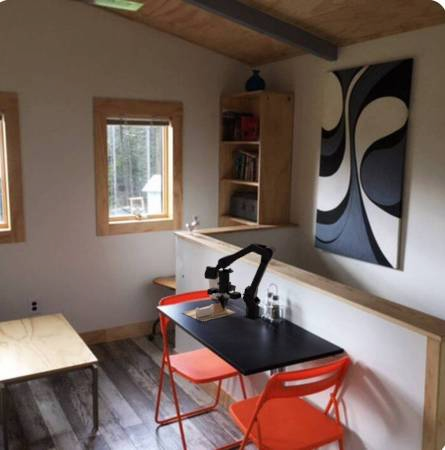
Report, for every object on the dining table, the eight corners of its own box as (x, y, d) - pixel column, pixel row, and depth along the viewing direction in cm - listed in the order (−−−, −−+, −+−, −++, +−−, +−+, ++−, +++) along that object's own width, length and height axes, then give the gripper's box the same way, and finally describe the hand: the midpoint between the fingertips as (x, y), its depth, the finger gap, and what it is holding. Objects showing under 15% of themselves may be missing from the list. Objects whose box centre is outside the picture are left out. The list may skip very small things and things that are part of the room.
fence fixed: (214, 315, 276) (215, 304, 275) (197, 319, 268) (197, 309, 267) (212, 314, 277) (212, 303, 276) (194, 318, 269) (195, 308, 268)
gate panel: (226, 309, 284) (226, 300, 283) (215, 313, 276) (215, 304, 276) (223, 308, 285) (223, 300, 284) (212, 312, 277) (212, 303, 277)
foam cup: (226, 296, 309) (227, 275, 307) (218, 300, 302) (218, 278, 300) (213, 293, 314) (213, 272, 312) (204, 297, 306) (205, 275, 305)
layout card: (236, 313, 280) (236, 312, 280) (202, 322, 264) (202, 321, 264) (214, 305, 292) (214, 304, 292) (181, 313, 277) (181, 312, 276)
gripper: (247, 280, 279) (246, 308, 281) (218, 275, 290) (218, 302, 292) (235, 284, 270) (235, 313, 272) (206, 279, 280) (206, 307, 283)
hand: (223, 309), depth 280 cm, fingers closed
